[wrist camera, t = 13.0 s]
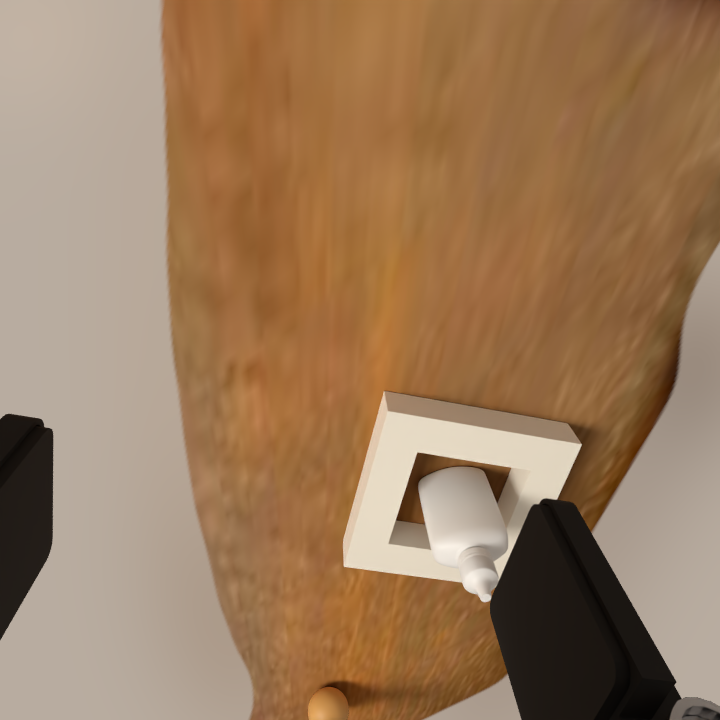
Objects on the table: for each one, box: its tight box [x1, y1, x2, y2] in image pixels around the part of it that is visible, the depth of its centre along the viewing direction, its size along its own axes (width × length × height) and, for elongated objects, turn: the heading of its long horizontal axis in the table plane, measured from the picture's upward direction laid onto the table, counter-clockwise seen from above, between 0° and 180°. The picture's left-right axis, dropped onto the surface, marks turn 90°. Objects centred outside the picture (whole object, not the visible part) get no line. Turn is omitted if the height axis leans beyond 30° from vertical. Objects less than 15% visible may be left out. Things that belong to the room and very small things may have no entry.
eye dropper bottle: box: [418, 467, 508, 602], centre depth 44 cm, size 4×6×12 cm
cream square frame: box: [343, 391, 582, 586], centre depth 48 cm, size 15×15×3 cm
